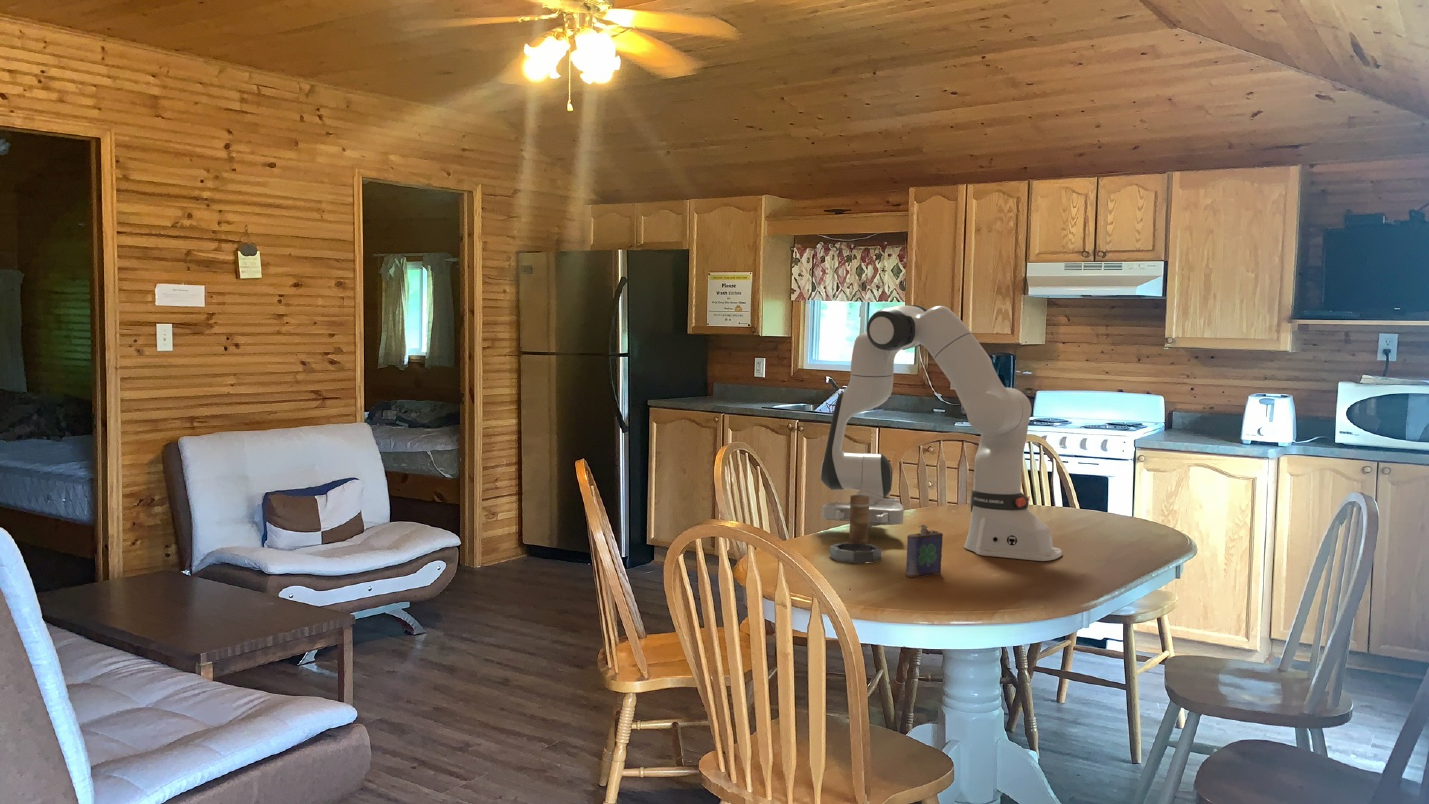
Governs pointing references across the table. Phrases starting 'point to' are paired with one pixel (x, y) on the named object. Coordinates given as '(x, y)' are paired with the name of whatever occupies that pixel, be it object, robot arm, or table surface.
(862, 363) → the robot arm
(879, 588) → the table surface
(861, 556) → the ring
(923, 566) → the flask
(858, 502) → the brown wooden cylinder
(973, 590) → the table surface
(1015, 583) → the table surface
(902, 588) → the table surface
